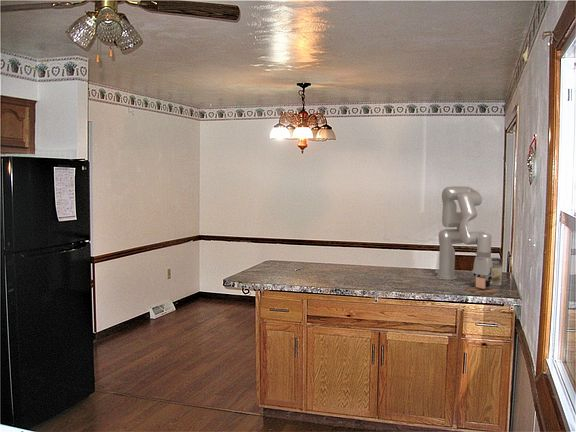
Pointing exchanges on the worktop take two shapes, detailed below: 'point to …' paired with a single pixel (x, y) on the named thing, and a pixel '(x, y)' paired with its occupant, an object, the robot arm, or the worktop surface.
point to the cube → (481, 282)
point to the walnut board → (482, 290)
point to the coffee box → (496, 271)
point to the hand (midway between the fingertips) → (482, 285)
